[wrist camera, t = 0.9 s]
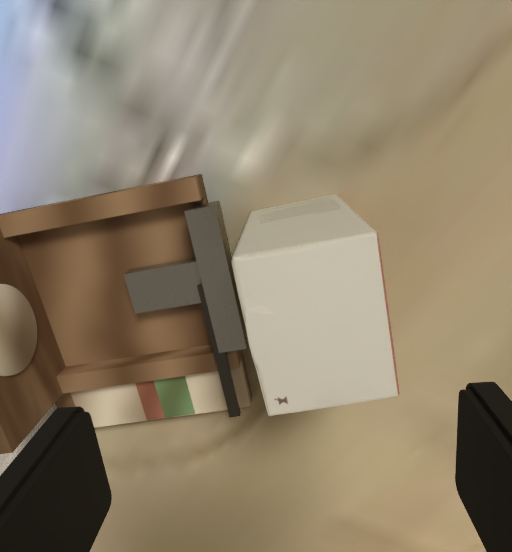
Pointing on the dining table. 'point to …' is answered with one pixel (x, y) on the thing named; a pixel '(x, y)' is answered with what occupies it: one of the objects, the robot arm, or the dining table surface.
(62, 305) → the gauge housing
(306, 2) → the dining table surface
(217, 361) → the gauge carriage
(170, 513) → the dining table surface
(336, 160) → the dining table surface
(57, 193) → the dining table surface
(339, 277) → the small box
